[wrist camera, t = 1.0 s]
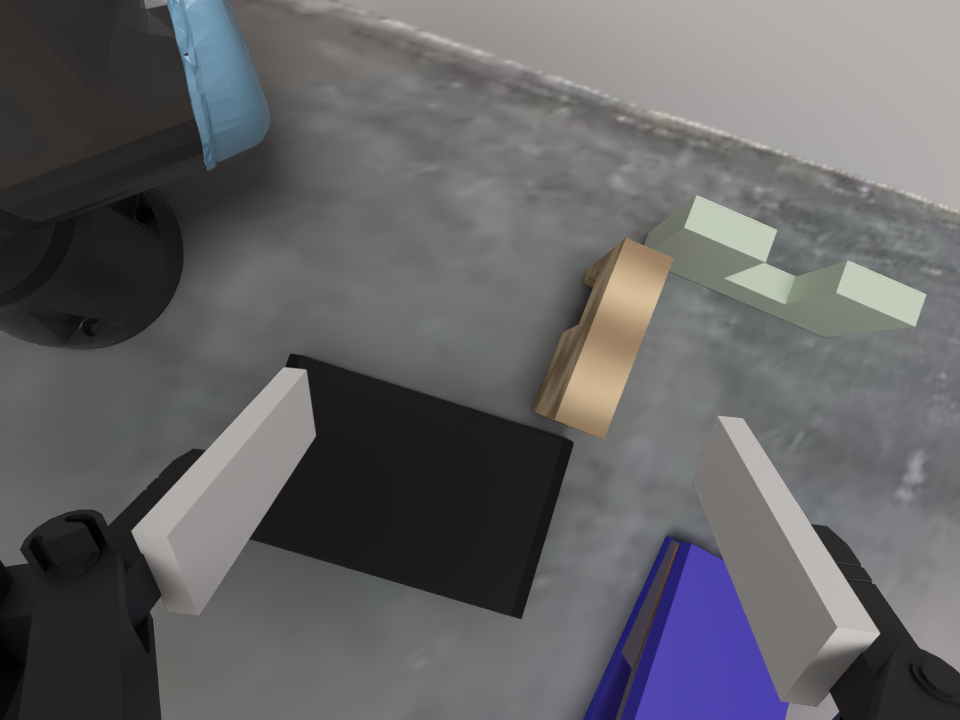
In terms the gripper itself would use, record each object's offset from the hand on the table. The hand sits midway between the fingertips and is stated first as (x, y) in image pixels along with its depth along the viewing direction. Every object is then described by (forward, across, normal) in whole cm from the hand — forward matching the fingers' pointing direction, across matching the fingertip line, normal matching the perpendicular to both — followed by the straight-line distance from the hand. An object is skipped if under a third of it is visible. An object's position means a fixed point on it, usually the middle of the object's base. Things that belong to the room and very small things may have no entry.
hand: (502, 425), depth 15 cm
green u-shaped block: (+29, +19, -4) cm, 35 cm away
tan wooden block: (+24, +6, -9) cm, 26 cm away
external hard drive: (+16, -7, -19) cm, 26 cm away
